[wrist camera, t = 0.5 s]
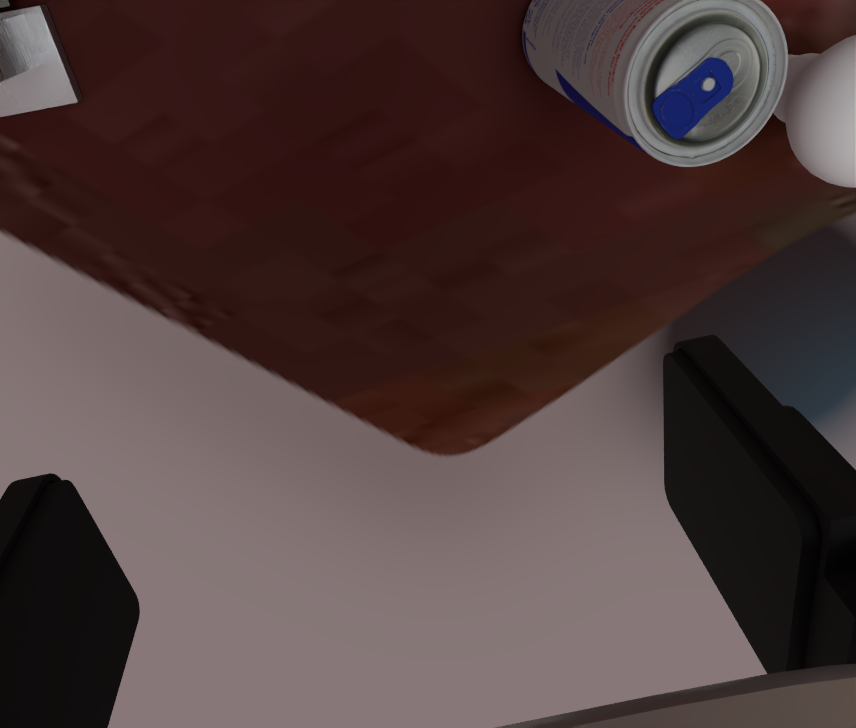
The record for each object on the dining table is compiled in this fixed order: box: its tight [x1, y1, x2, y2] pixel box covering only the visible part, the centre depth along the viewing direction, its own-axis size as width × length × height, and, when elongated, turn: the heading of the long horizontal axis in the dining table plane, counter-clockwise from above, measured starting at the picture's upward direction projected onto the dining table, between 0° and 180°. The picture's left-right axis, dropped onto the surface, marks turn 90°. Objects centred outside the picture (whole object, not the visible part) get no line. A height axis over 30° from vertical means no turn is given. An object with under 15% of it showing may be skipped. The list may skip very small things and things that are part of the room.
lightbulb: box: [773, 35, 856, 187], centre depth 32 cm, size 6×6×11 cm
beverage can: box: [522, 0, 788, 167], centre depth 28 cm, size 5×5×15 cm
